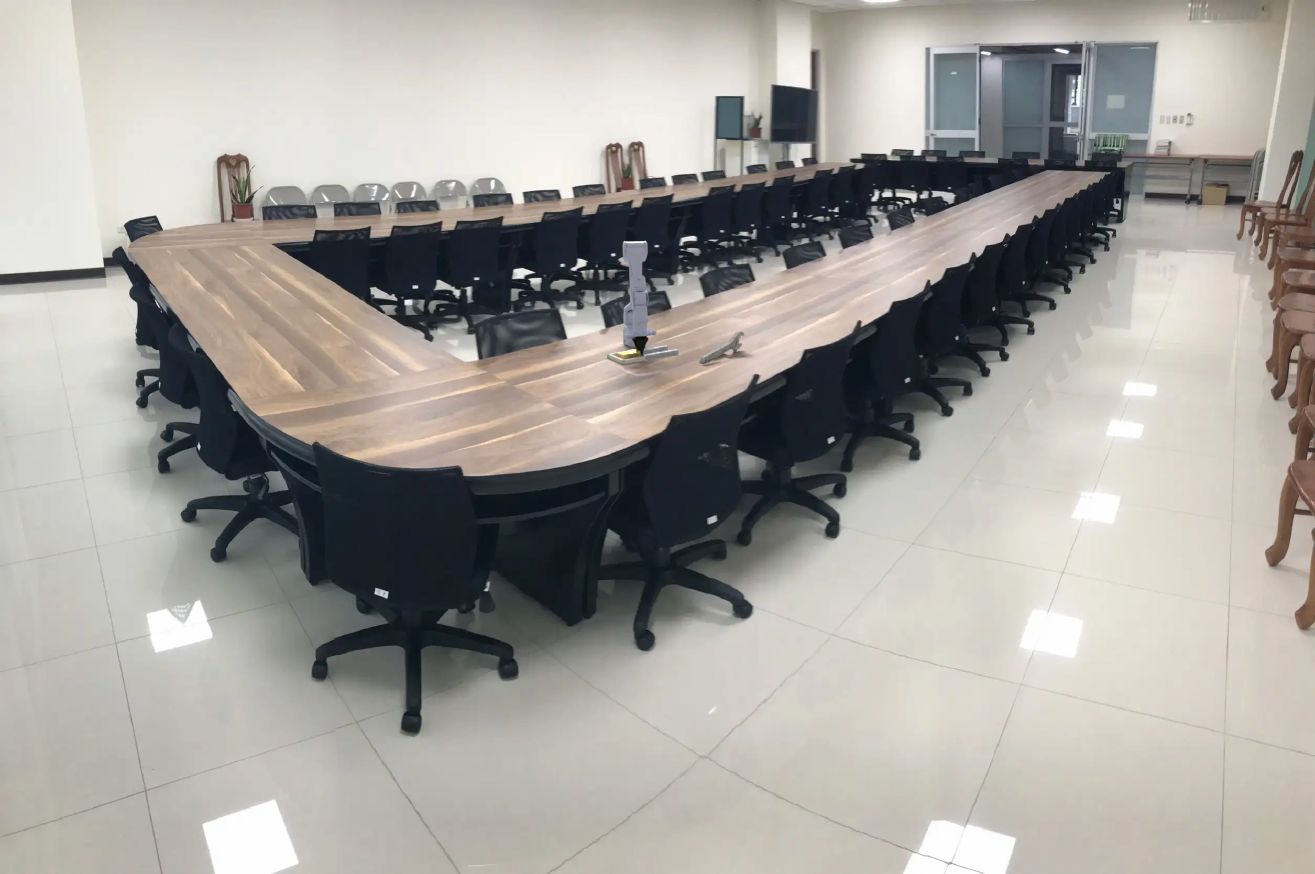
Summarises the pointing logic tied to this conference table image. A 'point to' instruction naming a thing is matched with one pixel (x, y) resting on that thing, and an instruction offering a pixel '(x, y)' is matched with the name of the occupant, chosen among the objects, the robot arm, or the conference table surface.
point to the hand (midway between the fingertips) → (640, 354)
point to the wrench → (724, 348)
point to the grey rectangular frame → (615, 357)
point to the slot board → (658, 352)
